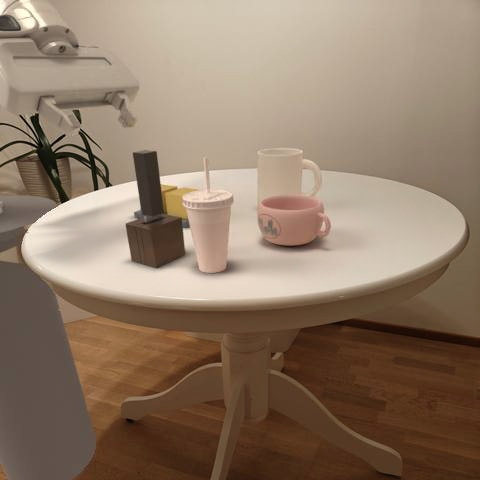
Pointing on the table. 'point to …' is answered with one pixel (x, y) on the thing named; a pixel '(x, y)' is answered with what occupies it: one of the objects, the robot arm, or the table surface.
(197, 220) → the smoothie
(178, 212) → the butter
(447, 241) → the table surface
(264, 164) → the mug
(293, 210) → the mug
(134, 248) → the knife block
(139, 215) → the butter dish
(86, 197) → the table surface
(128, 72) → the robot arm
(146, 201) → the knife
